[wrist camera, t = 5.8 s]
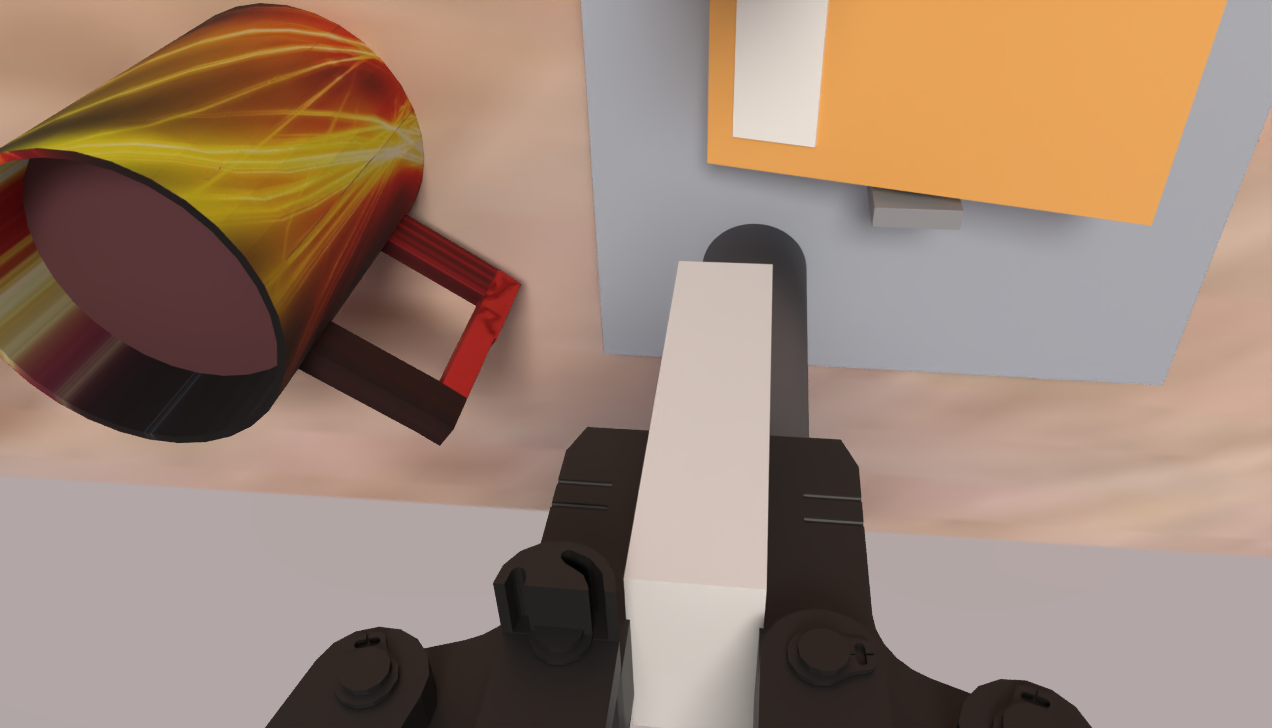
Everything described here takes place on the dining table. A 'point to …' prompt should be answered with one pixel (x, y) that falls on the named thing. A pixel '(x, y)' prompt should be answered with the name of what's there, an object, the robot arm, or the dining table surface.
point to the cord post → (777, 317)
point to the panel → (907, 223)
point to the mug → (227, 235)
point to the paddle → (963, 96)
